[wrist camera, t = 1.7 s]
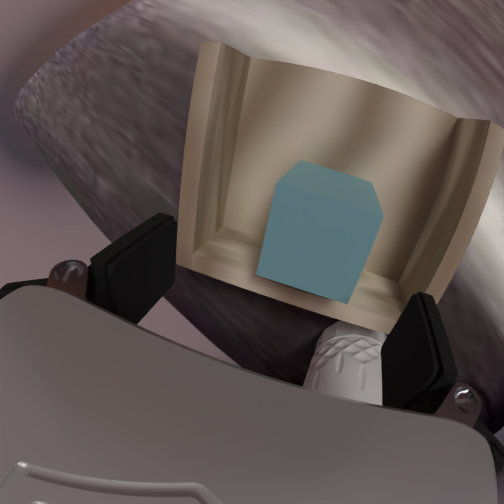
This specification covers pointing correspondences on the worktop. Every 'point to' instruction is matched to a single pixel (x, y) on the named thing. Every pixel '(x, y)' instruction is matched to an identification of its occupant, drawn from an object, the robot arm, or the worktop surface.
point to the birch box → (333, 157)
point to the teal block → (320, 231)
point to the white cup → (348, 363)
